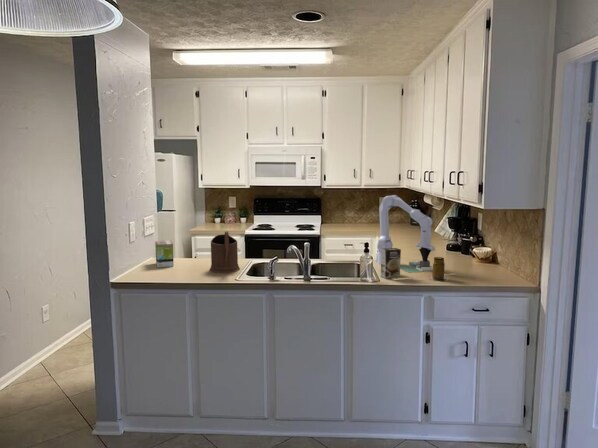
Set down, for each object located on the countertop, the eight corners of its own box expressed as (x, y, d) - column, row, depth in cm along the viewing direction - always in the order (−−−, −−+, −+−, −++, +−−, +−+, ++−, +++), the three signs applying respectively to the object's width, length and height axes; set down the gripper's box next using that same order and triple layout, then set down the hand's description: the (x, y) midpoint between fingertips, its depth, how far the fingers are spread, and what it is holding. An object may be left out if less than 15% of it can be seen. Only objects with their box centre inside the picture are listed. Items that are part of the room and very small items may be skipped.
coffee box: (385, 279, 240) (386, 250, 238) (380, 276, 246) (380, 248, 244) (400, 277, 242) (401, 249, 240) (394, 275, 248) (395, 247, 246)
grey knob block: (409, 265, 269) (409, 261, 269) (418, 264, 271) (419, 260, 271) (415, 267, 262) (415, 263, 262) (425, 266, 264) (425, 262, 264)
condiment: (435, 276, 244) (436, 255, 243) (450, 279, 239) (450, 258, 237) (429, 279, 239) (430, 257, 237) (444, 282, 233) (444, 260, 232)
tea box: (174, 266, 272) (173, 243, 271) (157, 268, 269) (156, 244, 267) (171, 262, 286) (170, 239, 284) (155, 263, 283) (154, 240, 281)
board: (394, 268, 266) (394, 263, 265) (420, 266, 271) (420, 261, 271) (409, 274, 249) (409, 269, 249) (436, 272, 255) (436, 267, 254)
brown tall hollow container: (237, 265, 276) (236, 226, 273) (244, 273, 253) (243, 231, 250) (207, 267, 270) (206, 227, 267) (212, 276, 248) (210, 233, 244)
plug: (419, 269, 258) (419, 259, 257) (425, 268, 260) (426, 259, 259) (423, 270, 255) (423, 261, 254) (429, 269, 257) (429, 260, 256)
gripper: (412, 236, 260) (411, 258, 262) (428, 240, 247) (427, 263, 249) (421, 235, 263) (421, 257, 265) (438, 239, 250) (437, 262, 251)
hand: (424, 260), depth 257 cm, fingers closed
